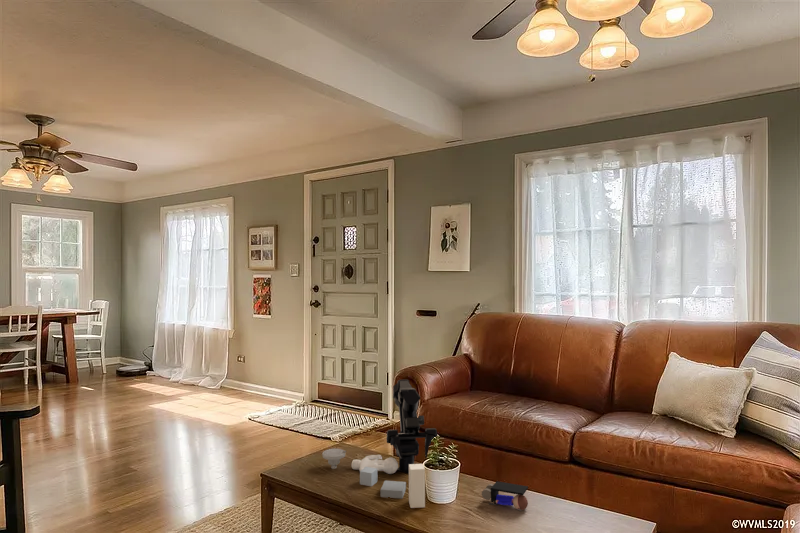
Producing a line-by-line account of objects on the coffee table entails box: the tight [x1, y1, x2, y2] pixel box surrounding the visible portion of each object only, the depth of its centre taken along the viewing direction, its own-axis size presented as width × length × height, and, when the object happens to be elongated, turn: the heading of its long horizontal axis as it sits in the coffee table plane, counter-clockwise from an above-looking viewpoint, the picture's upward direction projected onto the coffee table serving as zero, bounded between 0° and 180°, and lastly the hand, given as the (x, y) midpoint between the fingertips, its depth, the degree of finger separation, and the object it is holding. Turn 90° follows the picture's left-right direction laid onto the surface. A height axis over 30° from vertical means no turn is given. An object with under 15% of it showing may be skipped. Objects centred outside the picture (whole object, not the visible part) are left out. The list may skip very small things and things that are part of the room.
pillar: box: [408, 463, 426, 509], centre depth 173 cm, size 5×5×13 cm
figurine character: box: [481, 480, 529, 511], centre depth 172 cm, size 7×8×15 cm
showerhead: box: [322, 448, 347, 470], centre depth 207 cm, size 9×7×10 cm
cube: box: [359, 467, 378, 487], centre depth 192 cm, size 5×5×5 cm
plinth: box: [380, 480, 407, 499], centre depth 183 cm, size 8×8×3 cm
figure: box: [351, 454, 399, 475], centre depth 203 cm, size 11×6×20 cm
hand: (413, 457), depth 181 cm, fingers open, 9 cm apart
